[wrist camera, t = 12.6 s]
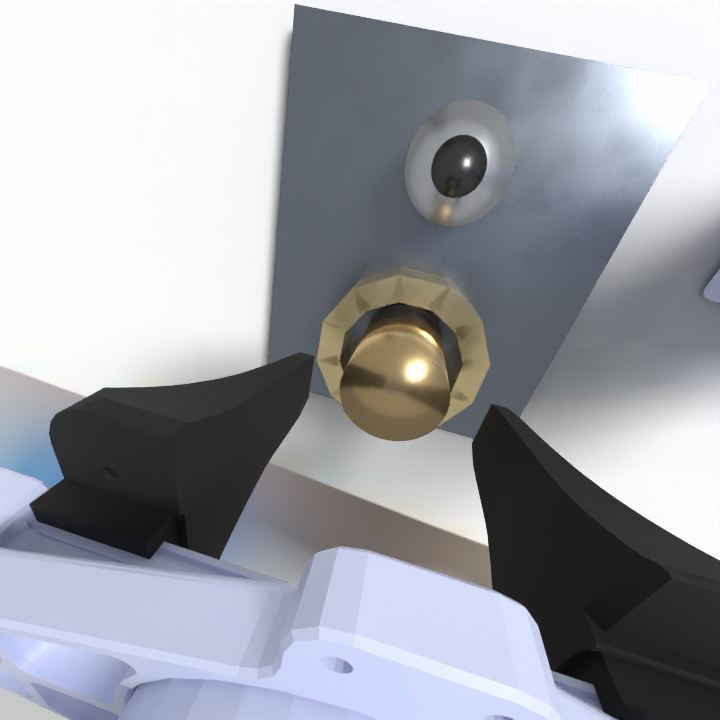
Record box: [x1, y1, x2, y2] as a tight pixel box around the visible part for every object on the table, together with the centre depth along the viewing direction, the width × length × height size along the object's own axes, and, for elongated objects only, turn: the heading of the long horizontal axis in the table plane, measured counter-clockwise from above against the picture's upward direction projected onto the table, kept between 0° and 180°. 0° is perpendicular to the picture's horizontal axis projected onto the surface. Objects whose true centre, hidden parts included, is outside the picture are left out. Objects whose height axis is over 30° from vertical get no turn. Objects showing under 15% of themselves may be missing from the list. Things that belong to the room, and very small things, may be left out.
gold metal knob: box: [340, 305, 450, 441], centre depth 14 cm, size 4×4×6 cm
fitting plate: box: [268, 4, 710, 438], centre depth 15 cm, size 16×18×4 cm
